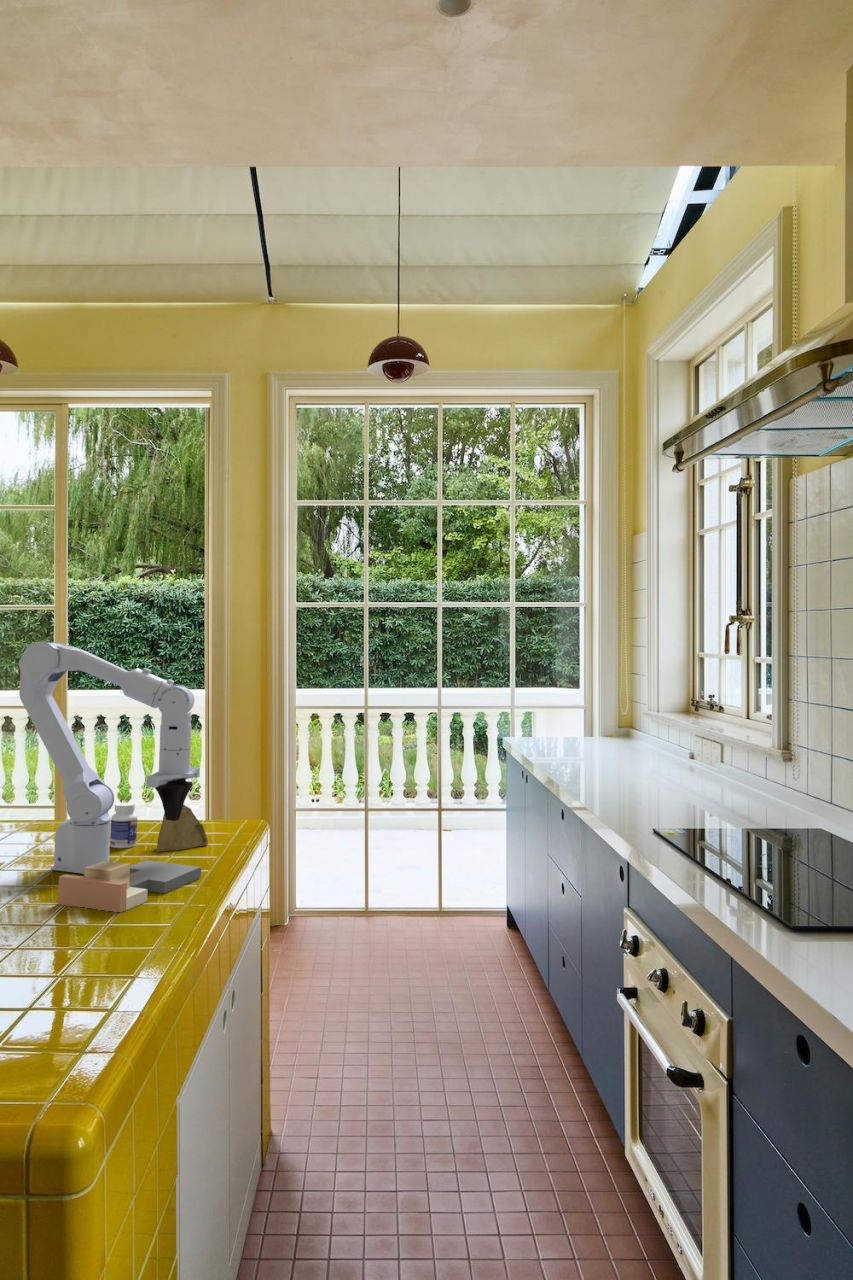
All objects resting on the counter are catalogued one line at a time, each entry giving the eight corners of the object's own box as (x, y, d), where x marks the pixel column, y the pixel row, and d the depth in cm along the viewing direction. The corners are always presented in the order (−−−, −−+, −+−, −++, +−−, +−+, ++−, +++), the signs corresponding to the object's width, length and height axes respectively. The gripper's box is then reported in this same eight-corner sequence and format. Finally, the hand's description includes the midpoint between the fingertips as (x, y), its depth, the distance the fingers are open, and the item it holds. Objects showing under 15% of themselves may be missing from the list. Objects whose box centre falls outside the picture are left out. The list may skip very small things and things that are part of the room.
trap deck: (58, 904, 137) (59, 876, 137) (145, 870, 159) (146, 847, 159) (119, 913, 134) (120, 884, 134) (200, 877, 156) (201, 853, 156)
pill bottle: (134, 848, 176) (135, 806, 176) (107, 849, 175) (109, 806, 176) (138, 843, 182) (139, 801, 182) (112, 843, 181) (114, 801, 181)
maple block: (83, 892, 138) (84, 867, 138) (104, 884, 142) (105, 860, 142) (109, 895, 136) (110, 870, 136) (129, 887, 141) (130, 863, 141)
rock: (213, 830, 186) (168, 823, 185) (215, 804, 181) (168, 796, 180) (201, 870, 177) (153, 863, 176) (202, 843, 172) (153, 836, 171)
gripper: (170, 754, 153) (168, 828, 153) (213, 746, 167) (211, 815, 167) (137, 751, 155) (135, 825, 155) (183, 744, 169) (180, 812, 169)
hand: (172, 819), depth 161 cm, fingers closed
